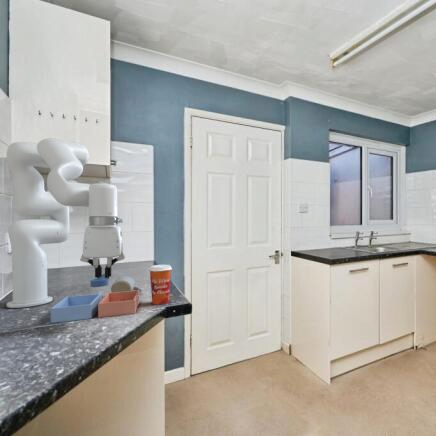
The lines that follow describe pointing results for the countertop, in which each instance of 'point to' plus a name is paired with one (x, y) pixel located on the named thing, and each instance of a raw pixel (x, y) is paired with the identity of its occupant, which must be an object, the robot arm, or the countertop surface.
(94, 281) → the slate spoon
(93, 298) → the slate bin
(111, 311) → the clay bin
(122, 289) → the ceramic mug
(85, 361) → the countertop surface
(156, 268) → the paper cup
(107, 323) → the countertop surface
